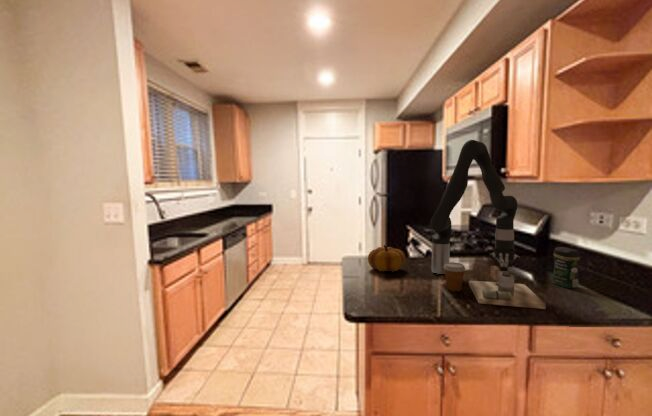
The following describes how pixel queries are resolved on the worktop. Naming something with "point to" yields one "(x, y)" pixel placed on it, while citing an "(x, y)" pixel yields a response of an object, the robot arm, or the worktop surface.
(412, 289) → the worktop surface
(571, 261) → the coffee jar
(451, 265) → the disposable coffee cup
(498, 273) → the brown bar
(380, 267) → the decorative pumpkin
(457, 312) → the worktop surface
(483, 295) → the level stand
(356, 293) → the worktop surface
